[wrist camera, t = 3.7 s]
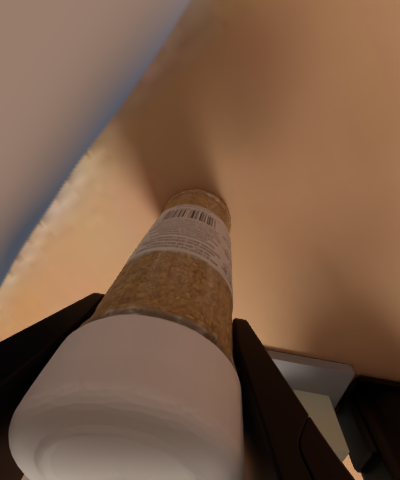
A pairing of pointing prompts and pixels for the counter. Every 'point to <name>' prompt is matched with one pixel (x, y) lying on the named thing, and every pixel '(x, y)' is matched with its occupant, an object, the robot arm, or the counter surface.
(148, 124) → the counter surface
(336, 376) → the board
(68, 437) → the sprinkles bottle
